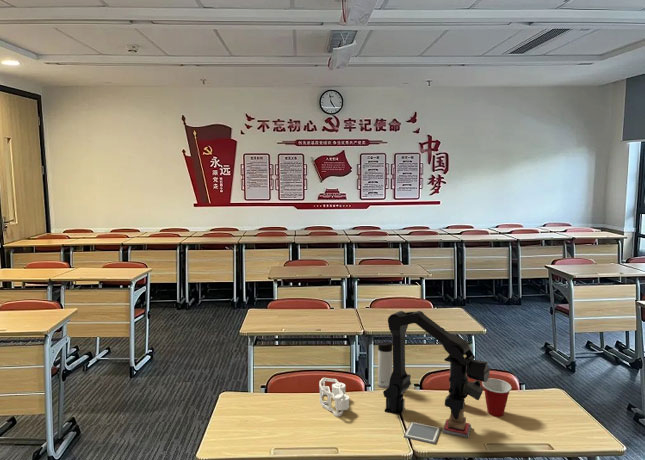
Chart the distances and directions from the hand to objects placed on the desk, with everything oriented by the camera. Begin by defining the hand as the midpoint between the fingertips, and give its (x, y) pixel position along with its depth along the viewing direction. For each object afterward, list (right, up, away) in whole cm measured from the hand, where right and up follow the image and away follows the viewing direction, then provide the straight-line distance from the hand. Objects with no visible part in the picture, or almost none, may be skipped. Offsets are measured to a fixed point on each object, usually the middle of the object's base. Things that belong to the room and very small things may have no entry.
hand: (457, 416), depth 166 cm
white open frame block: (-44, -4, +21) cm, 49 cm away
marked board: (-13, -5, -1) cm, 14 cm away
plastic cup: (+19, -4, +13) cm, 23 cm away
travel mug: (-21, -2, +38) cm, 44 cm away
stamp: (0, -4, 0) cm, 4 cm away
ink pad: (0, -5, 0) cm, 5 cm away
